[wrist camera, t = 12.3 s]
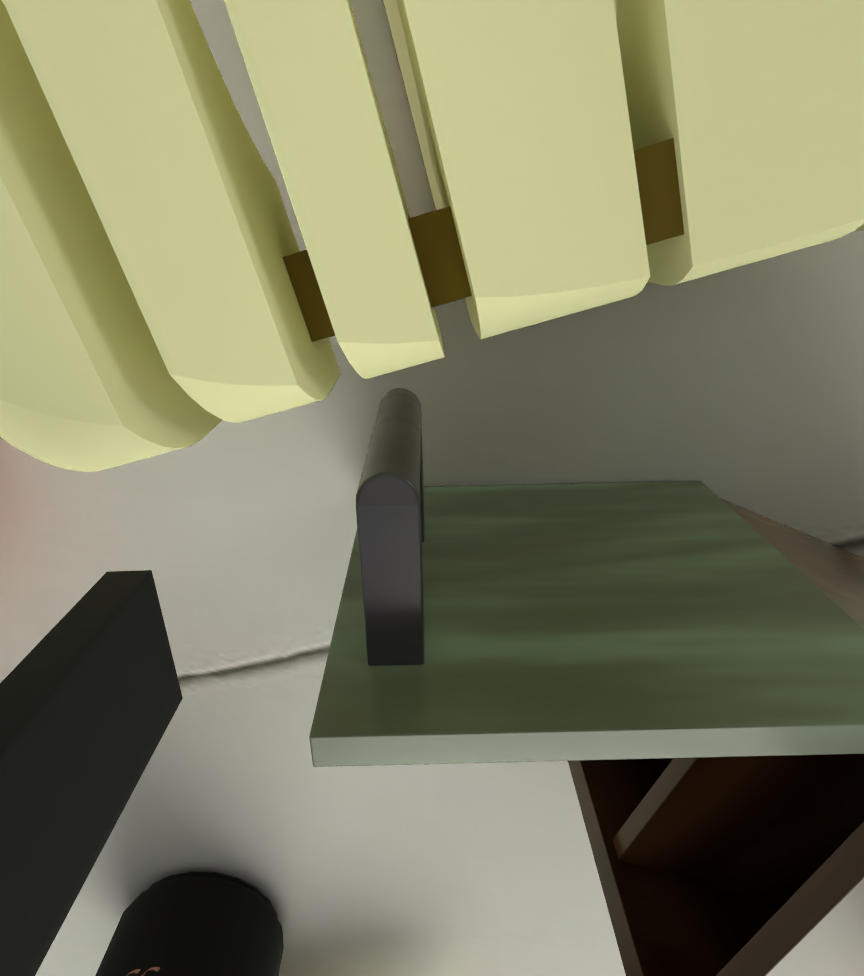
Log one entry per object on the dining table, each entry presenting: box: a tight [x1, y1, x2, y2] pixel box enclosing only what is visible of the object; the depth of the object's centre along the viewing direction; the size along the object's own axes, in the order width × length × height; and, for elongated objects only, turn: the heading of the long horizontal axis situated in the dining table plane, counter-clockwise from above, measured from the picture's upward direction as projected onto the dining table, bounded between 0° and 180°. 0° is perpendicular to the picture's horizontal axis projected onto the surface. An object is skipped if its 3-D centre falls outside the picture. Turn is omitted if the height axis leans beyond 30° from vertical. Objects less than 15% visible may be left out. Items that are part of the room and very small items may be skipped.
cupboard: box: [568, 498, 864, 976], centre depth 26 cm, size 11×16×16 cm
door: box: [310, 388, 864, 767], centre depth 21 cm, size 7×16×16 cm, turn 91°
